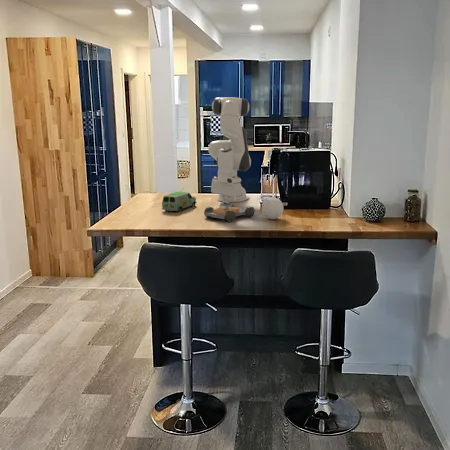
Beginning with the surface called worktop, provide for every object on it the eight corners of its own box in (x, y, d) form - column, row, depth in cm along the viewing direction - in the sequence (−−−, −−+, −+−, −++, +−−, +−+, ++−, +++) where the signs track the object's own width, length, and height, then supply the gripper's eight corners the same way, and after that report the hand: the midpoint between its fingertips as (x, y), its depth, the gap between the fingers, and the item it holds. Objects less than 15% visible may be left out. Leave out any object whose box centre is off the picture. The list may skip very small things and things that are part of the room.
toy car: (197, 206, 317) (196, 190, 315) (176, 213, 296) (176, 196, 293) (182, 204, 322) (182, 189, 319) (161, 212, 300) (160, 195, 298)
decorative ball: (257, 217, 283) (257, 196, 280) (276, 215, 288) (276, 195, 285) (267, 222, 272) (268, 200, 270) (287, 220, 277) (287, 198, 274)
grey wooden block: (226, 210, 285) (226, 201, 284) (232, 211, 282) (232, 202, 281) (219, 212, 281) (219, 203, 280) (224, 213, 278) (224, 204, 277)
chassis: (232, 211, 299) (232, 201, 298) (255, 216, 287) (255, 205, 286) (202, 218, 282) (202, 207, 281) (226, 223, 270) (226, 212, 269)
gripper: (208, 177, 282) (208, 201, 285) (235, 180, 268) (235, 206, 271) (216, 175, 286) (216, 200, 290) (243, 179, 273) (243, 204, 276)
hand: (225, 203), depth 280 cm, fingers closed, pressing on grey wooden block
